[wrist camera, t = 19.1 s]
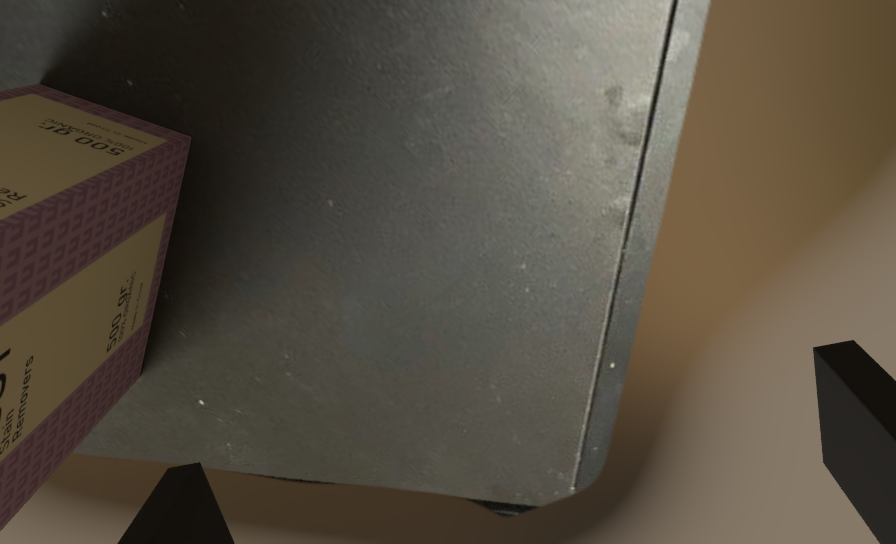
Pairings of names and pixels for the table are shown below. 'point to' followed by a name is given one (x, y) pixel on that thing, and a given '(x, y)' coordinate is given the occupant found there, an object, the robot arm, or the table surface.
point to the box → (74, 270)
